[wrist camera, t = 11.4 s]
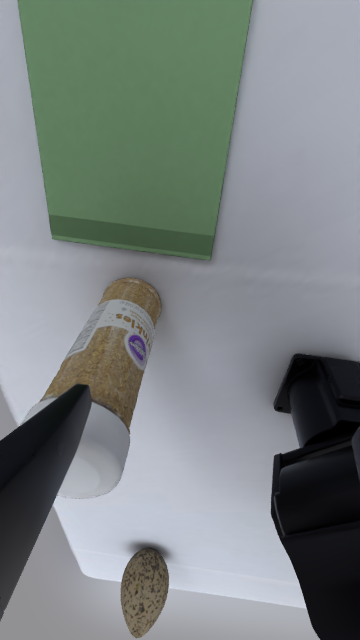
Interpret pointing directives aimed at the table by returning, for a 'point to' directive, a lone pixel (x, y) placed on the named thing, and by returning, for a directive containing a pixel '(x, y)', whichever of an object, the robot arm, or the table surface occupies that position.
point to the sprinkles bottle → (107, 383)
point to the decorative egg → (144, 590)
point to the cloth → (135, 116)
